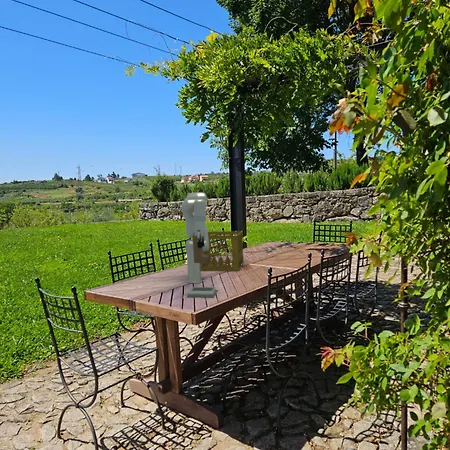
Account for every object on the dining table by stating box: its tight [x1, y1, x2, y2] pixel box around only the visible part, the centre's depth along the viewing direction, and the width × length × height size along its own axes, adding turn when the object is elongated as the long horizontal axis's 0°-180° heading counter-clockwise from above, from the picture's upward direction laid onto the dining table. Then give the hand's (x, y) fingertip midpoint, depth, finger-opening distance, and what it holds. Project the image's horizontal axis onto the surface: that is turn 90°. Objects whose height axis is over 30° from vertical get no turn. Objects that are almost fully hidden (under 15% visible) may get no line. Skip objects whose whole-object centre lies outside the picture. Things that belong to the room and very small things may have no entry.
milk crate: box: [200, 230, 244, 272], centre depth 346 cm, size 36×36×30 cm
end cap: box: [186, 286, 219, 299], centre depth 256 cm, size 16×17×4 cm
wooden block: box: [192, 235, 209, 264], centre depth 253 cm, size 9×4×18 cm, turn 59°
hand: (201, 246), depth 253 cm, fingers closed on wooden block, 5 cm apart
